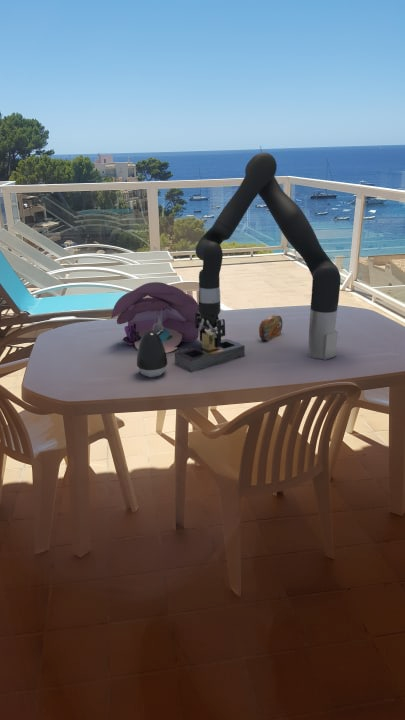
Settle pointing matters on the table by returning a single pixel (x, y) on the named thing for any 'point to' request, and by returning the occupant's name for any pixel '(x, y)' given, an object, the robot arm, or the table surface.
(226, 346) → the hole rail
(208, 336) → the square peg
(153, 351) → the aroma diffuser
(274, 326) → the tin
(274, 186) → the robot arm
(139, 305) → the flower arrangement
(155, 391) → the table surface
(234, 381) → the table surface
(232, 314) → the table surface
